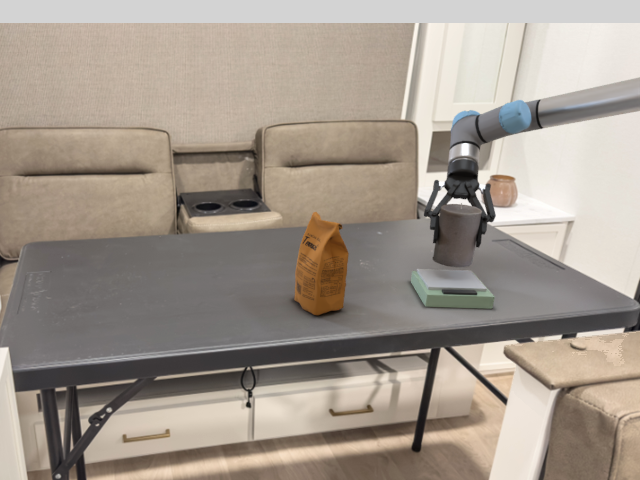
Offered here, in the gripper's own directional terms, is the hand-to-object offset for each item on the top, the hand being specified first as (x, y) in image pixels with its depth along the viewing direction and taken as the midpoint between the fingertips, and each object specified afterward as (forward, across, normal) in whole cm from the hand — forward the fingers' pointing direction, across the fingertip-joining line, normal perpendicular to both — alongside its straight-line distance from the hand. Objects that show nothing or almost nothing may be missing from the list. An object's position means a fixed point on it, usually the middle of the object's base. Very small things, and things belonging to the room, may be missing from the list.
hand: (456, 242), depth 143 cm
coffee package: (+22, +31, +3) cm, 38 cm away
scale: (+10, 0, -9) cm, 14 cm away
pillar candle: (+2, 0, -6) cm, 7 cm away
